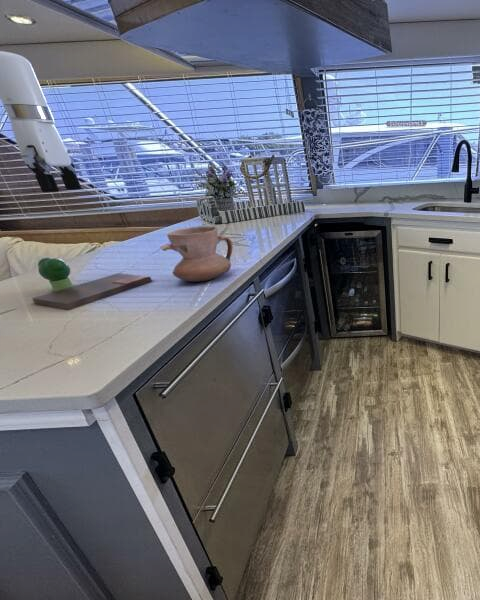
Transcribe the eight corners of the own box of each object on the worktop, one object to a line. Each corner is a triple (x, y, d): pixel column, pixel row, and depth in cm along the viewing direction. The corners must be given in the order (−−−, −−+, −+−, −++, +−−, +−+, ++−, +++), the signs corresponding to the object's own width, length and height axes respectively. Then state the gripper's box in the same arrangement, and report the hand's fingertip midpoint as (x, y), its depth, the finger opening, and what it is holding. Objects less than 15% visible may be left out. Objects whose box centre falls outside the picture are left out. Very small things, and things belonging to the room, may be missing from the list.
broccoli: (58, 294, 87) (42, 262, 83) (42, 291, 89) (26, 260, 86) (84, 286, 92) (70, 256, 88) (69, 284, 94) (54, 254, 91)
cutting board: (69, 309, 77) (65, 303, 76) (34, 303, 81) (31, 297, 80) (152, 281, 94) (150, 275, 93) (120, 277, 98) (118, 272, 98)
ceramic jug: (179, 291, 85) (162, 238, 79) (167, 279, 94) (150, 231, 89) (248, 274, 96) (237, 226, 91) (231, 265, 106) (219, 222, 100)
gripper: (36, 120, 84) (66, 189, 91) (-20, 110, 69) (21, 194, 75) (71, 120, 86) (97, 187, 93) (24, 110, 71) (60, 192, 77)
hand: (63, 190), depth 84 cm, fingers open, 9 cm apart
